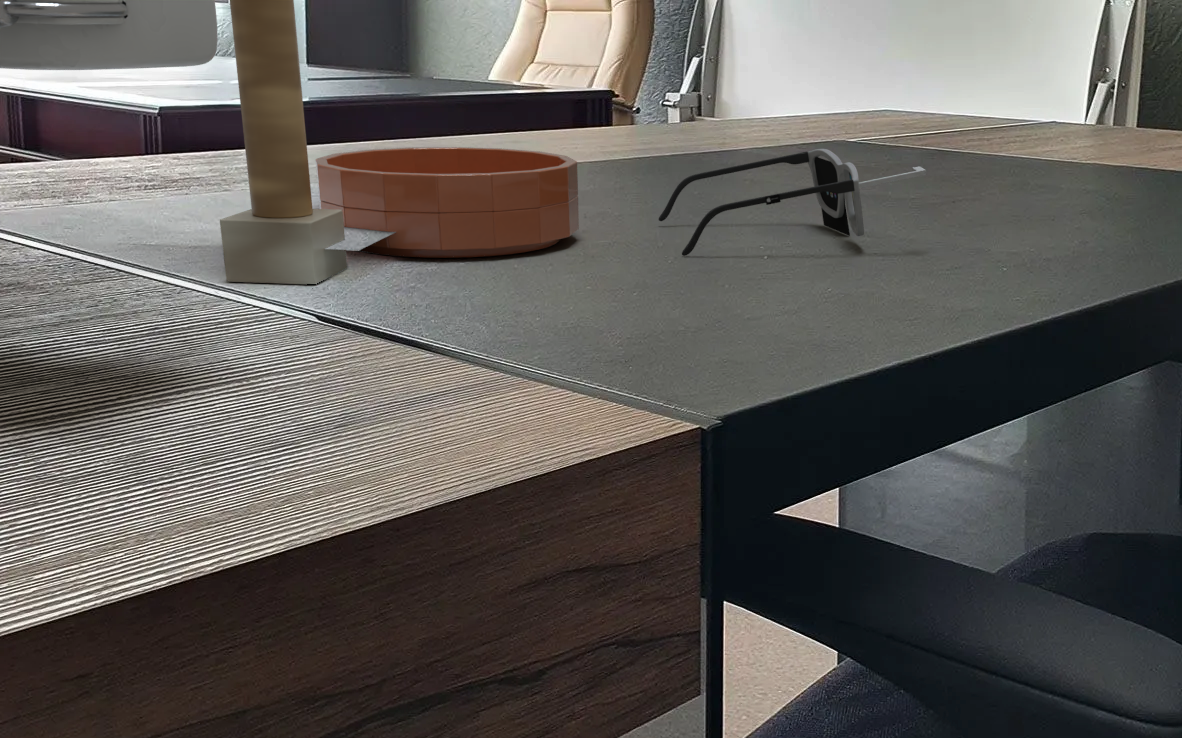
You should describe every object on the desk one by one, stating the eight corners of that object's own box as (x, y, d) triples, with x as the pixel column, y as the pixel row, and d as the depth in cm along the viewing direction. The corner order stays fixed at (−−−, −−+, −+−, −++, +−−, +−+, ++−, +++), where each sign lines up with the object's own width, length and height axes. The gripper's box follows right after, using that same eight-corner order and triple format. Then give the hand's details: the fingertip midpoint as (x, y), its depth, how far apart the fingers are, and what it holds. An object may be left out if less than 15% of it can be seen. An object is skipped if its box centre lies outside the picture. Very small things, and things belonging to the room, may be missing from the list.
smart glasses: (937, 246, 79) (927, 159, 77) (691, 298, 77) (674, 209, 75) (881, 210, 90) (871, 132, 88) (664, 255, 88) (649, 177, 86)
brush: (226, 281, 67) (188, -53, 62) (263, 265, 71) (230, -49, 66) (315, 285, 67) (285, -50, 62) (347, 268, 71) (321, -47, 66)
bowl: (283, 256, 74) (274, 169, 72) (372, 217, 87) (366, 144, 86) (548, 265, 73) (545, 178, 72) (597, 225, 87) (595, 151, 85)
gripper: (19, -112, 38) (307, -81, 51) (-539, -120, 43) (-148, -90, 55) (55, 125, 40) (323, 98, 53) (-481, 93, 45) (-117, 75, 58)
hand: (79, 1), depth 54 cm, fingers open, 8 cm apart
